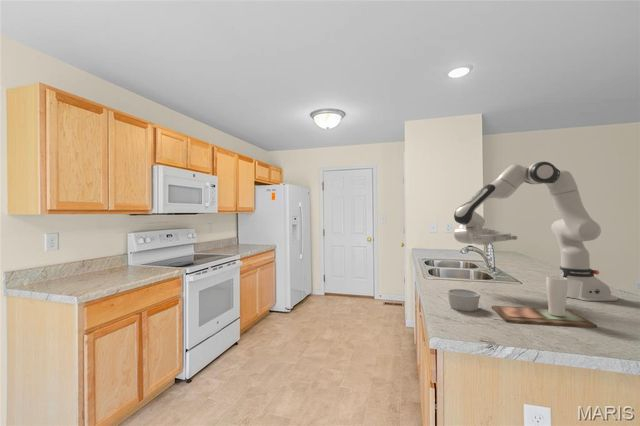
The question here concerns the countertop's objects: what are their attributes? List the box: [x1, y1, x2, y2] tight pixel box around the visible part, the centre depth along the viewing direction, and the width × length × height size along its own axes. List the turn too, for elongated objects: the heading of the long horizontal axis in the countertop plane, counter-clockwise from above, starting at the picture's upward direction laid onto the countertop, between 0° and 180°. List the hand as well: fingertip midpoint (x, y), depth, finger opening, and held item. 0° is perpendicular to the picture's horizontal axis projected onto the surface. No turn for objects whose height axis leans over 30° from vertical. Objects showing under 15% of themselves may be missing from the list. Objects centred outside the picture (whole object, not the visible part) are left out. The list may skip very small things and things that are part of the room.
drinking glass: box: [545, 275, 568, 317], centre depth 120 cm, size 7×7×15 cm
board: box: [491, 305, 598, 329], centre depth 122 cm, size 30×18×1 cm, turn 76°
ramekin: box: [447, 288, 481, 312], centre depth 136 cm, size 13×13×7 cm
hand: (511, 238), depth 146 cm, fingers open, 8 cm apart
